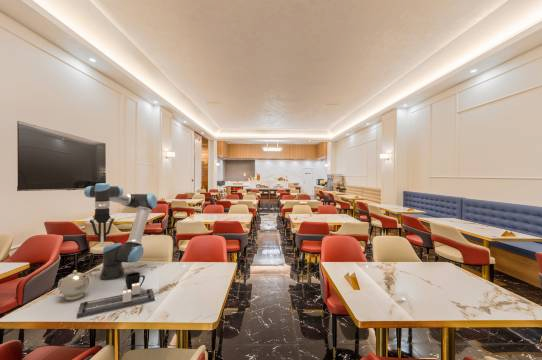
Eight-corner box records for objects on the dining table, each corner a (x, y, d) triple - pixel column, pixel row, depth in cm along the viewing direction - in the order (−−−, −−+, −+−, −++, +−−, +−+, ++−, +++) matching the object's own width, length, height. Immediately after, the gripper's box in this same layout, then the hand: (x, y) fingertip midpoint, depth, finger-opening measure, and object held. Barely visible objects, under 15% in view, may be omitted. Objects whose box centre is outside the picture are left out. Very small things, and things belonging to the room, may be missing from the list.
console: (80, 306, 139) (80, 300, 139) (152, 291, 158) (152, 286, 158) (77, 318, 127) (77, 312, 127) (154, 300, 145) (154, 295, 146)
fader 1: (122, 299, 141) (122, 290, 141) (130, 298, 143) (130, 288, 143) (122, 302, 138) (122, 293, 138) (131, 300, 140) (131, 291, 140)
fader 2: (131, 292, 150) (131, 283, 150) (139, 290, 152) (139, 282, 153) (132, 295, 147) (132, 286, 147) (139, 293, 149) (139, 284, 149)
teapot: (95, 292, 156) (95, 266, 156) (77, 303, 142) (77, 274, 142) (68, 292, 157) (68, 266, 157) (47, 302, 144) (47, 273, 144)
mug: (139, 292, 156) (140, 277, 156) (122, 291, 158) (122, 276, 158) (148, 287, 164) (148, 272, 164) (131, 286, 166) (131, 271, 166)
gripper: (88, 209, 149) (88, 248, 149) (114, 208, 156) (114, 245, 156) (90, 208, 156) (89, 246, 155) (114, 207, 162) (114, 243, 162)
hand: (102, 245), depth 156 cm, fingers closed
